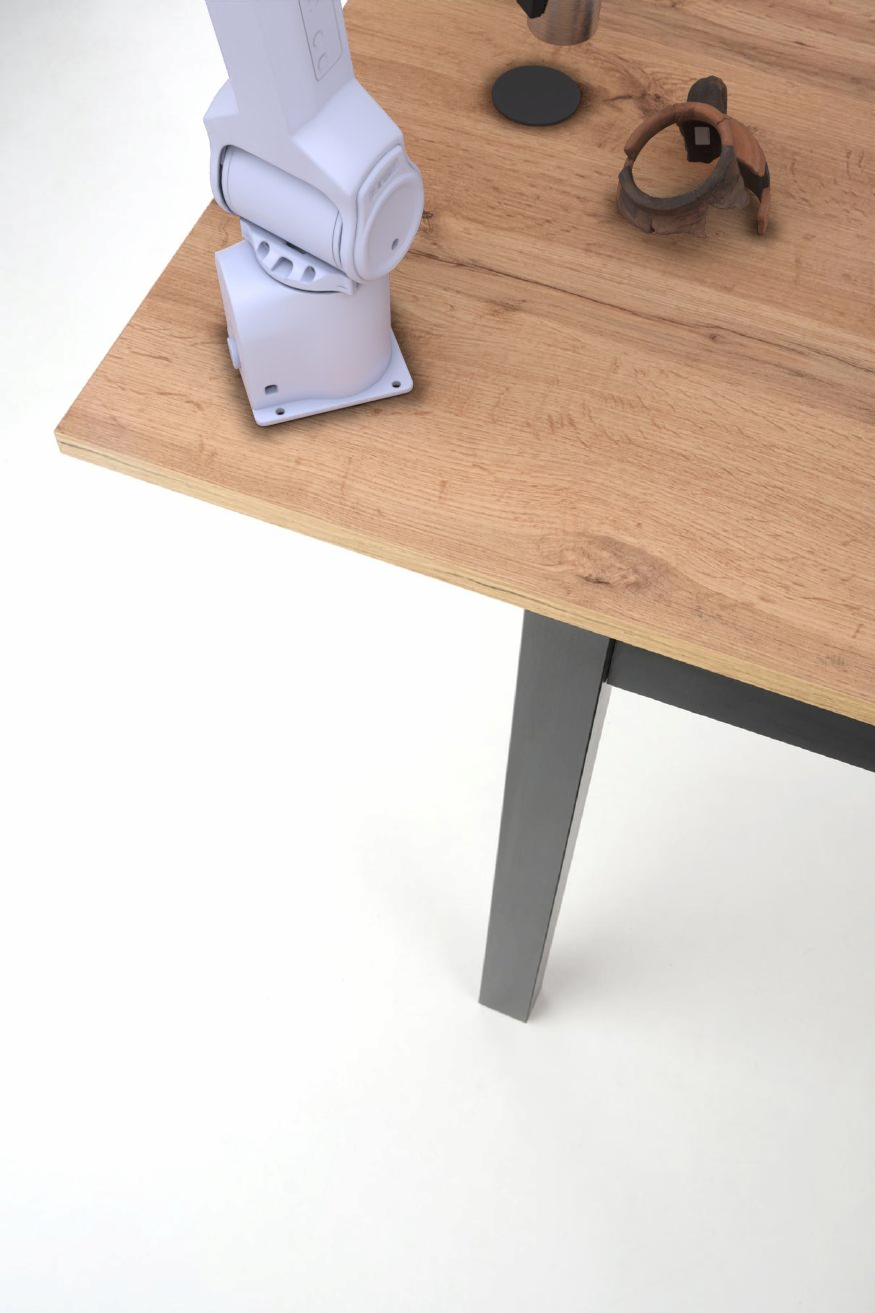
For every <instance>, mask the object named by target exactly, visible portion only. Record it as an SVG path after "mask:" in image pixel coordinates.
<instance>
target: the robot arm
mask: <svg viewBox="0 0 875 1313" xmlns="http://www.w3.org/2000/svg"><path fill="white" fill-rule="evenodd" d="M515 1H516V3H517V4H518V6H519V7H520V8H521V9H522V11H523V12H524V14H526V17H527V16H528V17H529V18H530V19H534V18H537V17H541V15H542V11H543V8H544V4H545V0H515ZM204 2H205V5H206V8H207V12H208V15H209V18H210V21H211V25H212V28H213V31H214V34H215V37H216V41H217V44H218V46H219V50H220V53H221V57H222V60H223V63H224V67H225V69H226V73H227V76H228V79H227V80H226V81H225V82H224V83H223V85H222V86H221V87H220V88H219V89H218V91H216V94H215V95H214V97H213V98H212V101H211V102H210V104H209V105H208V108H207V109H206V111H205V113H204V115H203V117H202V122H203V125H204V128H205V131H206V133H207V136H208V138H207V139H208V141H209V142H208V143H209V152H210V155H209V172H208V173H209V184H210V190H211V193H212V196H213V199H214V200H215V202H216V203H217V205H218V206H219V207H220V208H221V209H222V210H223V211H224V212H226V213H228V214H231V215H234V216H237V217H239V224H240V231H241V236H242V240H240V241H238V242H236V243H233V244H232V245H230V246H228V247H225V248H223V249H220V250H217V251H215V252H214V263H215V268H216V274H217V279H218V284H219V285H218V286H219V290H220V295H221V300H222V304H223V310H224V315H225V321H226V325H227V328H226V329H227V335H228V337H227V338H226V343H227V346H228V347H227V348H228V351H229V354H230V359H231V362H232V365H233V368H234V369H235V370H239V374H240V376H241V379H242V382H243V385H244V389H245V393H246V395H247V399H248V402H249V405H250V409H251V411H252V415H253V417H254V421H255V423H256V424H257V425H258V426H261V427H267V426H272V425H275V424H280V423H284V422H289V421H293V420H298V419H301V418H306V417H310V416H314V415H319V414H323V413H327V412H332V411H335V410H341V409H345V408H348V407H353V406H357V405H361V404H364V403H370V402H374V401H377V400H381V399H386V398H390V397H394V396H398V395H403V394H407V393H410V392H412V390H413V388H414V381H413V379H412V376H411V373H410V370H409V369H408V366H407V363H406V360H405V358H404V356H403V353H402V350H401V348H400V346H399V343H398V341H397V338H396V336H395V333H394V331H393V329H392V328H393V327H392V317H391V316H392V314H391V272H392V271H393V270H394V269H395V268H396V267H397V266H398V265H399V264H400V262H402V260H403V259H404V257H406V254H407V253H408V251H409V249H410V248H411V246H412V245H413V242H414V240H415V238H416V236H417V233H418V230H419V227H420V225H421V222H422V219H423V218H422V217H423V213H424V206H425V189H424V182H423V175H422V172H421V170H420V168H419V166H418V165H417V164H416V162H414V161H413V160H412V159H410V157H409V156H408V153H407V151H406V146H405V139H404V133H403V131H402V130H401V128H400V127H399V125H398V124H397V123H396V122H395V121H394V120H393V119H392V118H391V116H390V115H389V114H388V113H387V111H385V110H384V109H383V107H382V106H380V104H379V103H378V102H377V100H376V99H374V98H373V97H372V95H371V94H370V93H369V92H368V91H367V90H366V89H365V87H364V86H363V84H361V83H360V81H359V80H358V79H357V77H356V76H355V70H354V66H353V65H354V64H353V59H352V54H351V48H350V43H349V39H348V38H349V37H348V32H347V27H346V22H345V17H344V10H343V5H342V0H204ZM243 238H244V239H243ZM395 386H398V387H395ZM280 413H281V414H280Z"/></svg>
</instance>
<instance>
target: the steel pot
mask: <svg viewBox="0 0 875 1313" xmlns="http://www.w3.org/2000/svg"><path fill="white" fill-rule="evenodd" d="M602 1H603V0H545V4H544V8H543V11H542V15H541V17H537V18H534V19H530V18H529V17H528V16H527V15H526V25H527V28H528V30H529V32H530V33H531V34H532V35H533V36H534V37H535V38H537V39H538V40H540V41H542V42H544V43H546V44H548V45H553V46H559V47H572V46H577V45H581V44H583V43H585V42H588V41H589V40H590V39H592V38H593V37H595V34H596V33H597V32H598V29H599V23H600V16H601V8H602V3H603V2H602Z"/></svg>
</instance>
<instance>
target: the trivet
mask: <svg viewBox="0 0 875 1313" xmlns="http://www.w3.org/2000/svg"><path fill="white" fill-rule="evenodd" d="M491 100H492V103H493V105H494V107H495V109H496V110H497V111H498V112H499V113H500V114H501V115H502V116H504V117H505V118H506V119H508V120H510V121H513V122H515V123H518V124H521V125H525V126H530V127H531V126H532V127H547V126H554V125H557V124H559V123H562V122H564V121H567V119H570V118H571V117H572V116H573V115H574V114H575V113H576V111H577V110H578V108H579V106H580V103H581V91H580V88H579V86H578V85H577V83H576V81H575V80H574V79H573V78H572V77H570V76H569V74H566V73H565V72H563V71H561V70H559V69H556V68H554V67H550V66H546V65H537V64H531V65H529V64H528V65H520V66H516V67H514V68H511V69H509V70H507V71H505V72H504V73H502V74H500V76H498V77H497V79H495V81H494V82H493V85H492V88H491Z"/></svg>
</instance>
